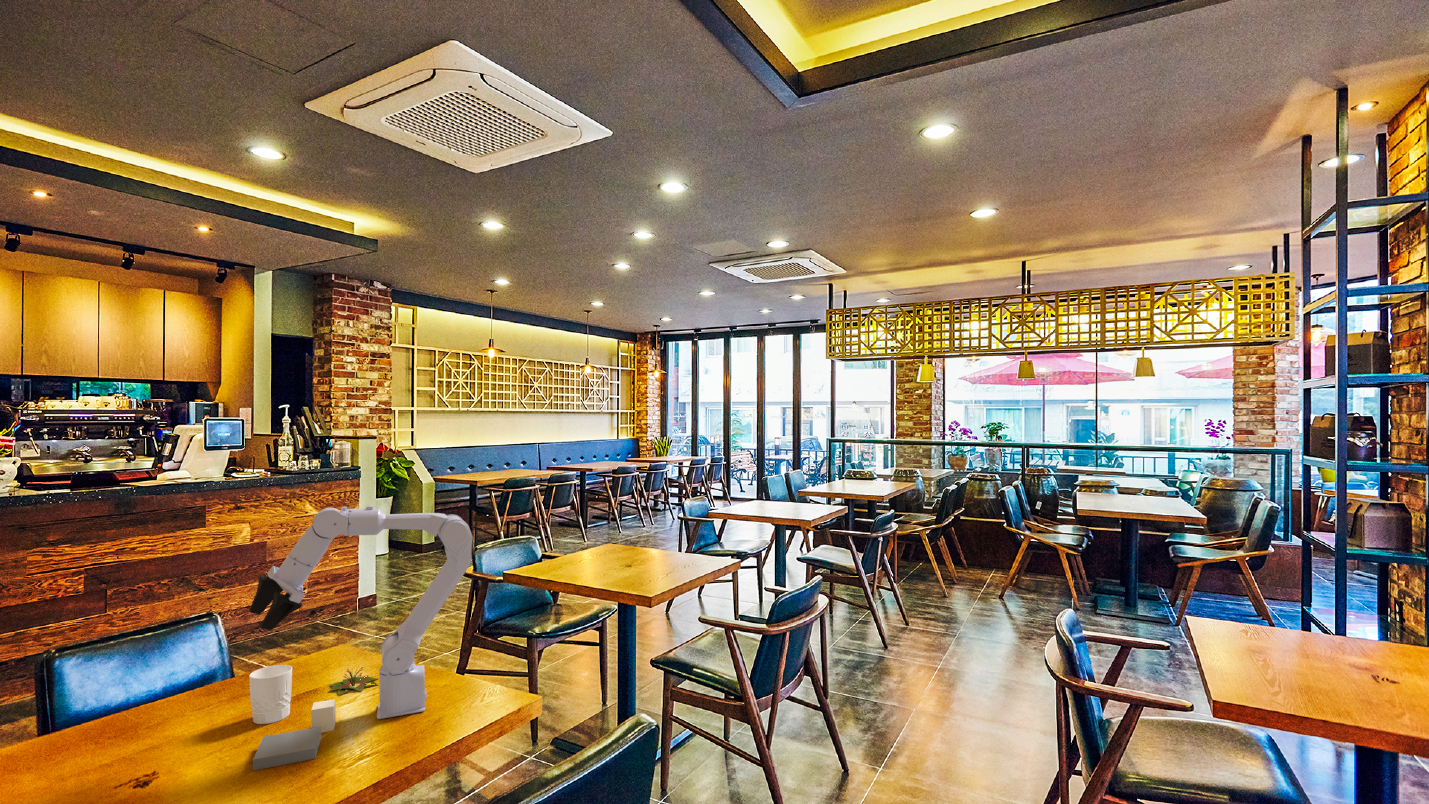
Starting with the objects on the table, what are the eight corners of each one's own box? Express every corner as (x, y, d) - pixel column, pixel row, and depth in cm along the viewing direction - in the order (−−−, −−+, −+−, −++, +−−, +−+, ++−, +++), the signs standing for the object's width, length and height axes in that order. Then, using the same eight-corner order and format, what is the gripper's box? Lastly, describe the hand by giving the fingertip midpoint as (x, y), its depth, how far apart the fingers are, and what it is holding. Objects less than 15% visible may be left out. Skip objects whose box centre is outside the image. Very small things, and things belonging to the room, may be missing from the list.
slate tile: (321, 736, 140) (321, 726, 140) (315, 758, 131) (315, 748, 131) (263, 746, 136) (263, 736, 136) (253, 770, 127) (252, 759, 127)
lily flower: (319, 687, 167) (319, 668, 167) (372, 674, 175) (372, 656, 175) (332, 702, 158) (332, 682, 158) (388, 687, 166) (388, 668, 166)
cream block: (335, 722, 146) (335, 699, 146) (333, 730, 143) (333, 706, 143) (313, 726, 145) (313, 702, 145) (311, 734, 141) (311, 710, 141)
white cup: (271, 727, 145) (271, 679, 145) (240, 724, 146) (239, 677, 146) (301, 711, 152) (301, 665, 152) (271, 708, 154) (270, 663, 154)
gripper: (272, 542, 146) (230, 600, 142) (296, 567, 137) (251, 630, 133) (303, 553, 151) (262, 610, 147) (327, 578, 142) (285, 639, 138)
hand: (259, 620), depth 141 cm, fingers open, 7 cm apart
